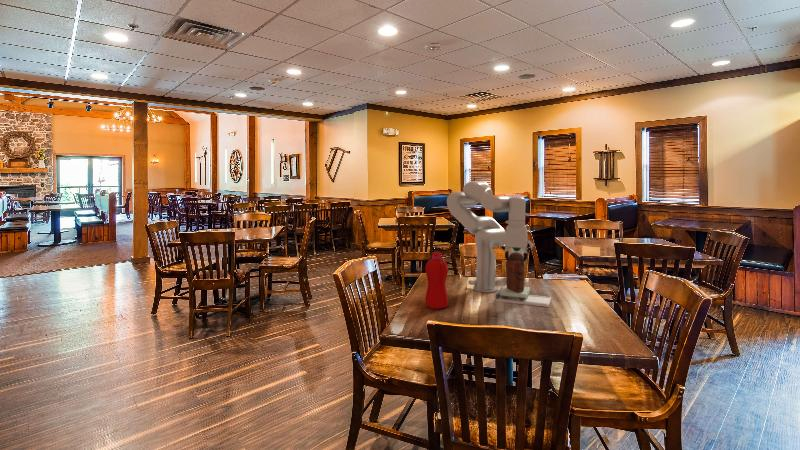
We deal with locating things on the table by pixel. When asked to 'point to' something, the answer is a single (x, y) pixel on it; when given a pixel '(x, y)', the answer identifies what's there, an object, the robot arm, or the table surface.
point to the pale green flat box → (514, 293)
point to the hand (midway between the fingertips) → (515, 260)
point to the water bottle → (436, 282)
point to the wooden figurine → (515, 272)
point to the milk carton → (519, 250)
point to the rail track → (528, 300)
